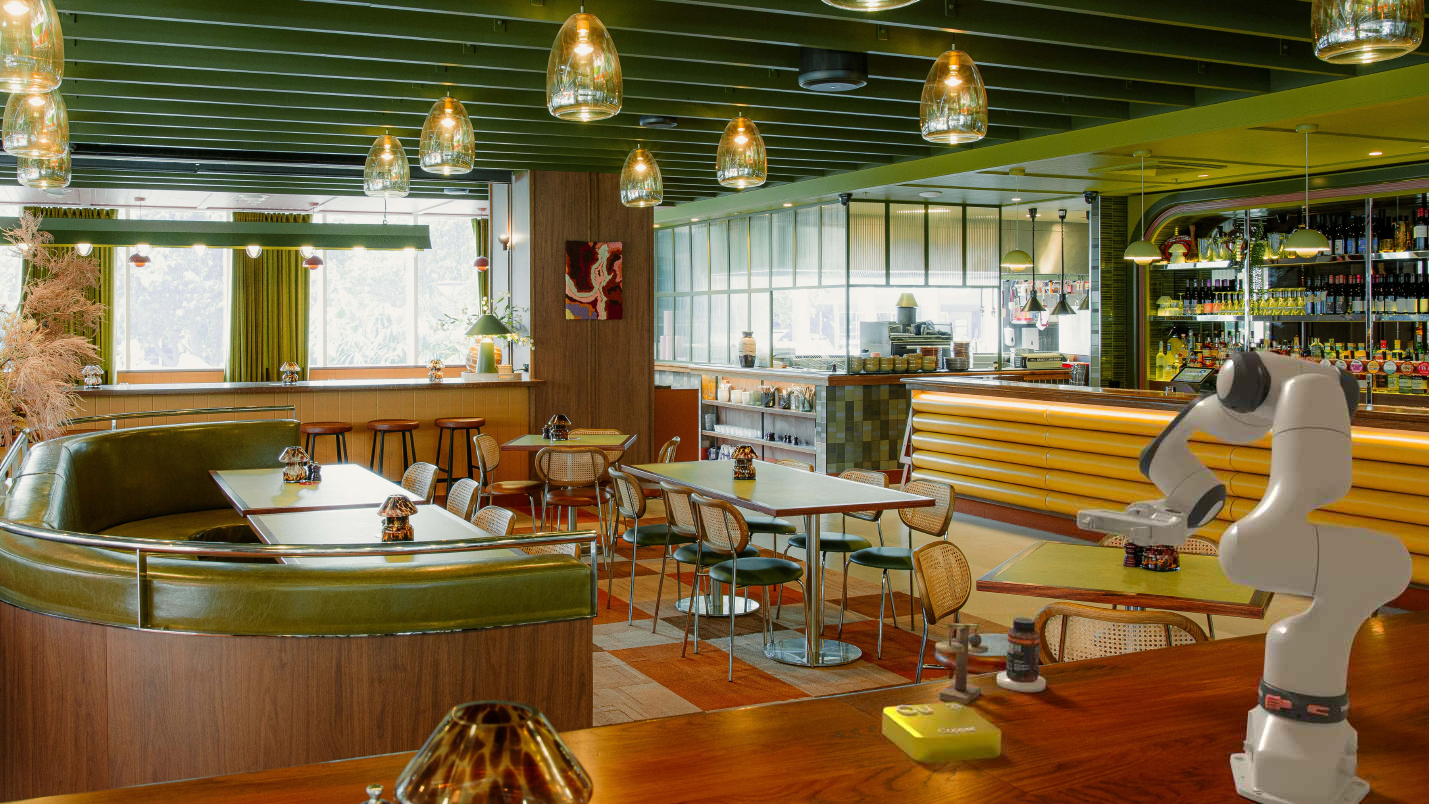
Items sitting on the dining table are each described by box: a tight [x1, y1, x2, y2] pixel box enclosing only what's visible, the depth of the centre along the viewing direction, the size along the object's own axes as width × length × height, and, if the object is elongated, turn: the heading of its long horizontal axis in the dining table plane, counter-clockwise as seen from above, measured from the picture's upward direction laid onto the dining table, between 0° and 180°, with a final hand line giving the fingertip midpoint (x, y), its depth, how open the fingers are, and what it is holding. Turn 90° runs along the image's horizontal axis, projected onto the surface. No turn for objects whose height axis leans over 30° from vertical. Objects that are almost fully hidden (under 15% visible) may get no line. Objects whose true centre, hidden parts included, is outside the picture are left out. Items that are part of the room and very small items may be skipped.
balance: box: [934, 623, 989, 706], centre depth 199 cm, size 19×5×15 cm, turn 148°
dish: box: [996, 671, 1047, 693], centre depth 207 cm, size 9×9×1 cm
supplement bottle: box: [1005, 617, 1041, 682], centre depth 207 cm, size 6×6×11 cm
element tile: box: [881, 701, 1002, 764], centre depth 176 cm, size 15×15×5 cm
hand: (1106, 529), depth 209 cm, fingers open, 8 cm apart
